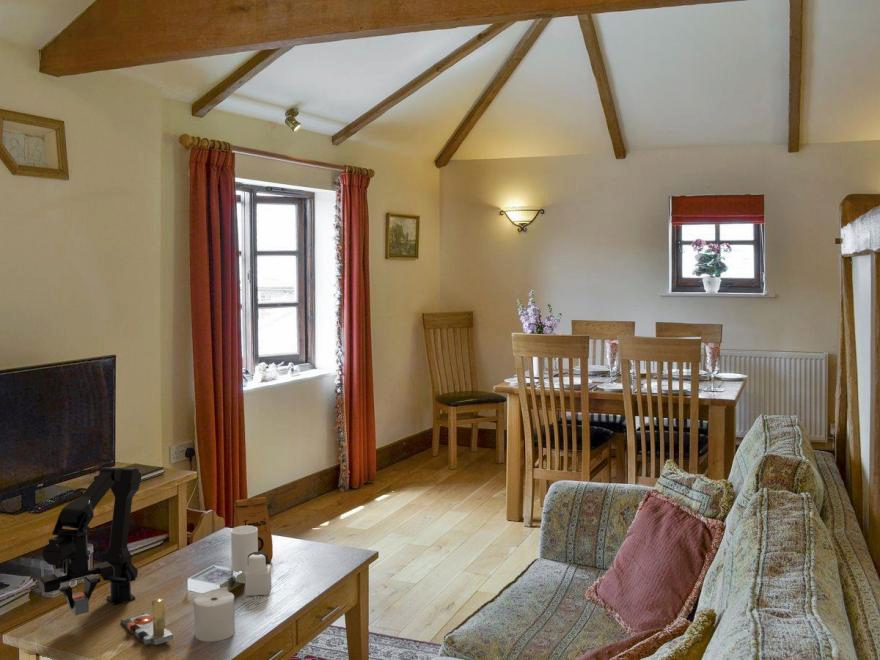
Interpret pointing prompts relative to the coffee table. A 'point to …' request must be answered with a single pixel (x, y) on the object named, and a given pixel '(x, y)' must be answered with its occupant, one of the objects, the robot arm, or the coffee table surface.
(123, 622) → the guide
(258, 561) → the medicine bottle
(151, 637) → the rack
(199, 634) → the toilet tissue
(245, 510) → the coffee package
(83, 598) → the grey and red block
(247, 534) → the white cylinder
